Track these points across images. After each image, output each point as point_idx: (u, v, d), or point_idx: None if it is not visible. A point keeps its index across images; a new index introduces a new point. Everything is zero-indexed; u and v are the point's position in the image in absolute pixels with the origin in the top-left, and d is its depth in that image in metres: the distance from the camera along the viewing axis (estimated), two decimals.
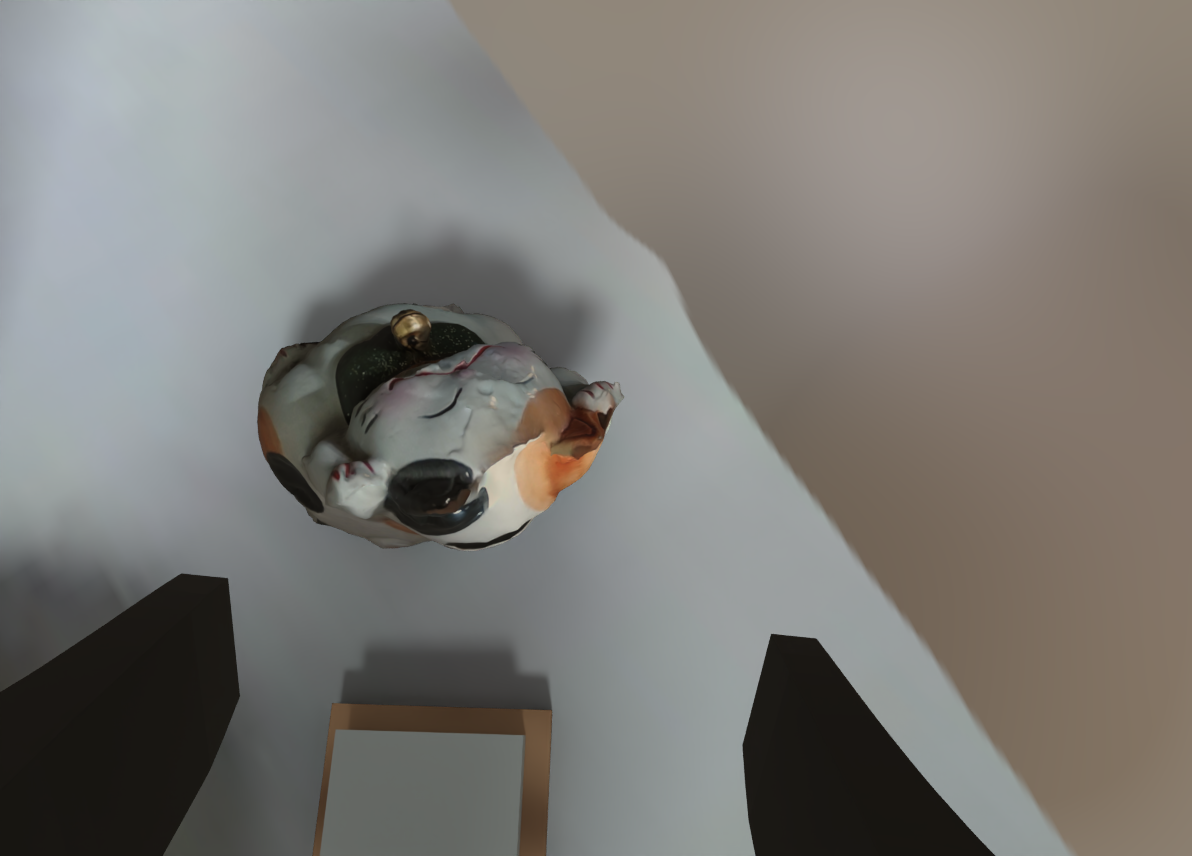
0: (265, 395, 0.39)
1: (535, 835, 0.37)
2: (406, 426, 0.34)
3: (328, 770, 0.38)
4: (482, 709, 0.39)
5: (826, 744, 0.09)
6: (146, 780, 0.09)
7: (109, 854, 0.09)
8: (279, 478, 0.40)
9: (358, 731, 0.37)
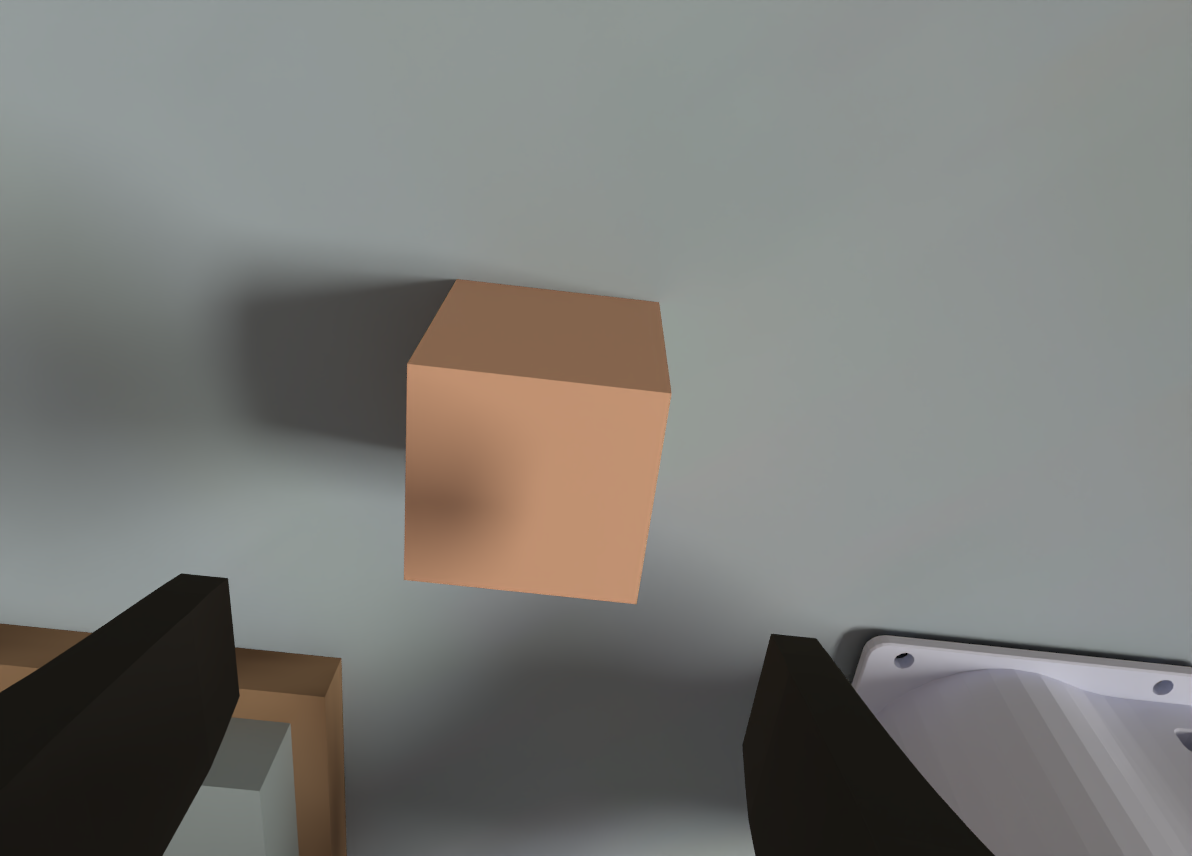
0: None
1: None
2: None
3: None
4: None
5: (826, 744, 0.09)
6: (146, 780, 0.09)
7: (109, 854, 0.09)
8: None
9: None
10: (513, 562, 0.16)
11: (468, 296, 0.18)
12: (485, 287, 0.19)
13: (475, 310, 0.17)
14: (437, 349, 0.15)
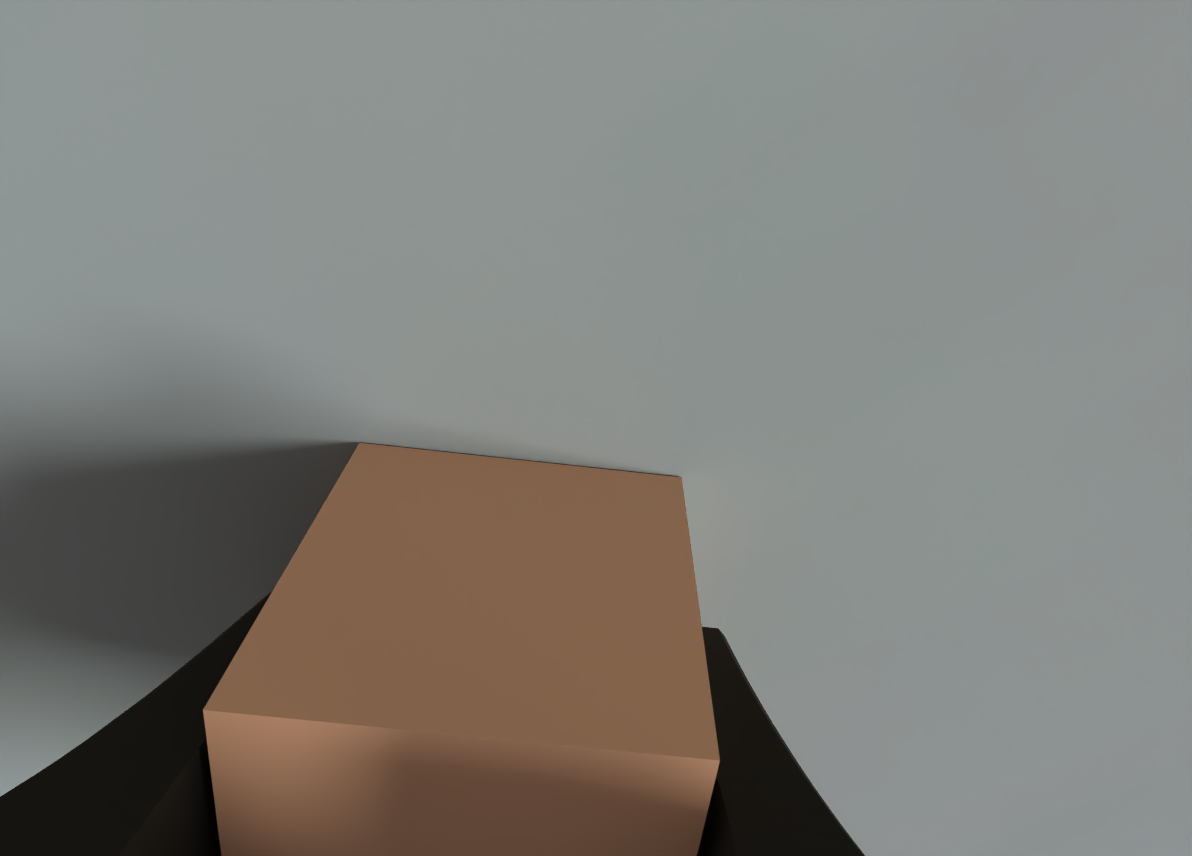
0: None
1: None
2: None
3: None
4: None
5: None
6: None
7: None
8: None
9: None
10: None
11: (368, 487, 0.11)
12: (401, 462, 0.12)
13: (374, 525, 0.10)
14: (278, 652, 0.08)
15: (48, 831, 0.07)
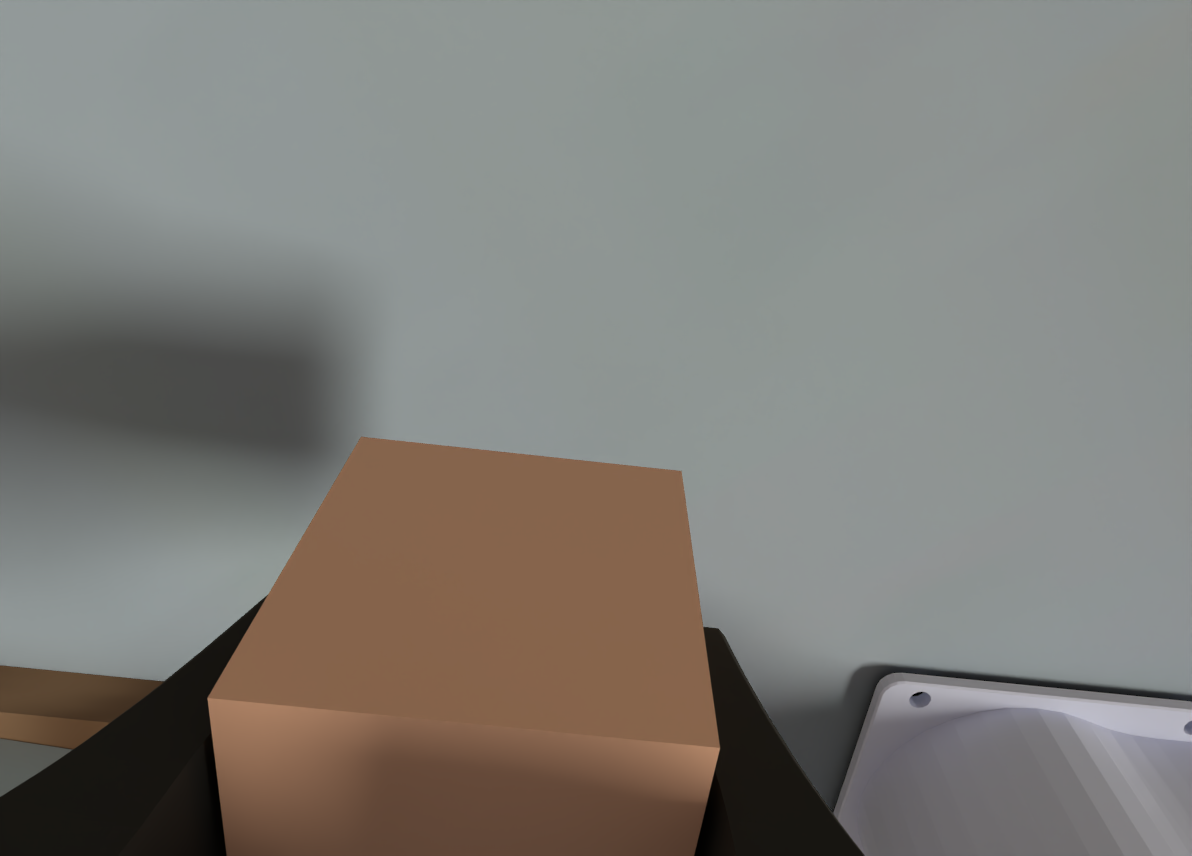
0: None
1: None
2: None
3: None
4: None
5: None
6: None
7: None
8: None
9: None
10: None
11: (370, 480, 0.11)
12: (403, 456, 0.12)
13: (376, 517, 0.10)
14: (281, 642, 0.08)
15: (48, 831, 0.07)
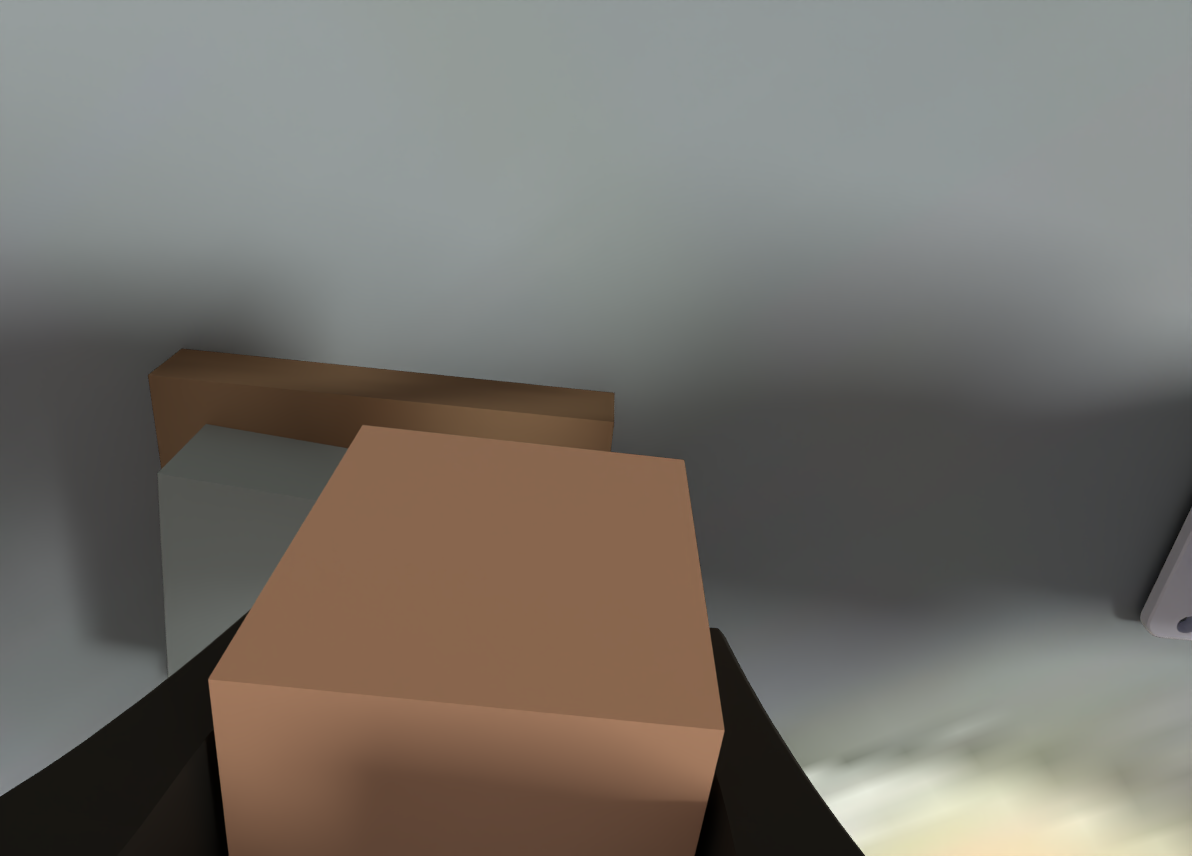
0: None
1: (392, 419, 0.19)
2: None
3: None
4: None
5: None
6: None
7: None
8: None
9: None
10: None
11: (372, 468, 0.11)
12: (404, 444, 0.12)
13: (377, 504, 0.10)
14: (282, 624, 0.08)
15: (47, 831, 0.07)
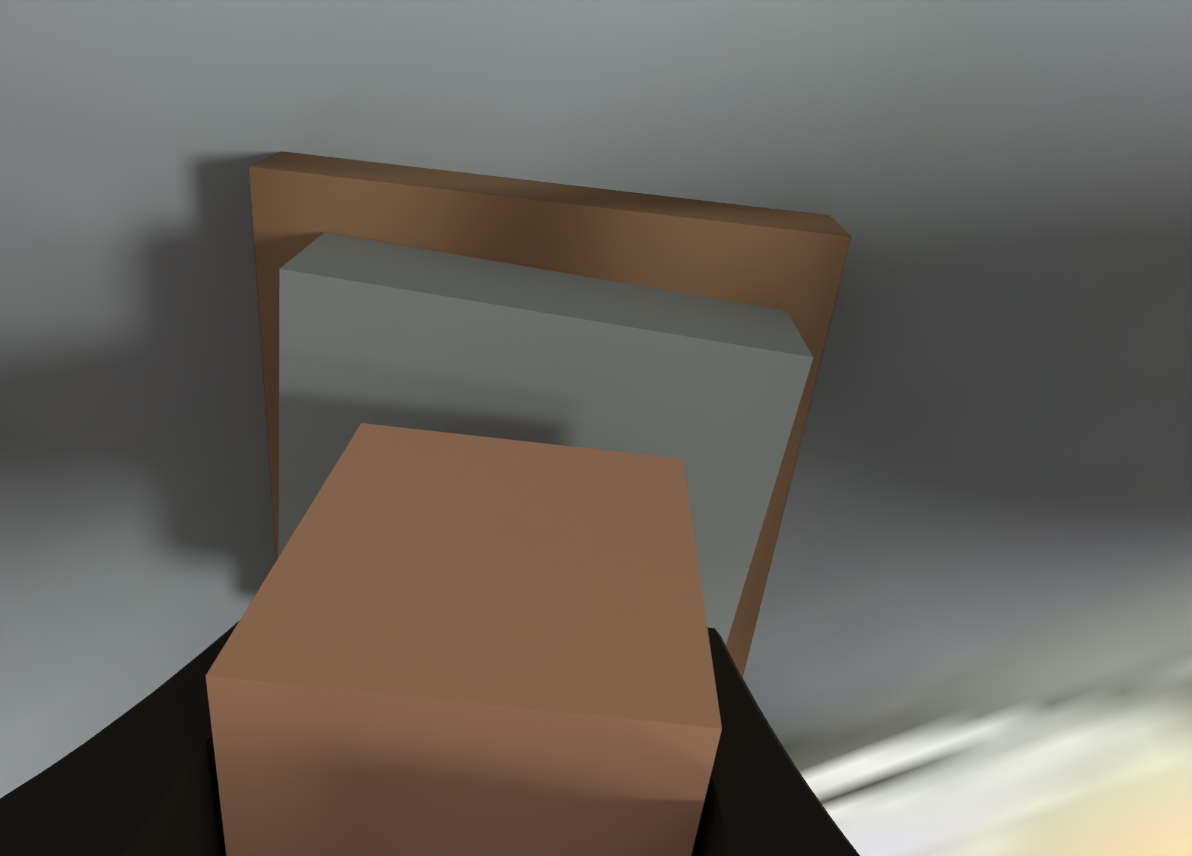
0: None
1: (563, 231, 0.14)
2: None
3: None
4: (264, 346, 0.15)
5: None
6: None
7: None
8: None
9: None
10: None
11: (371, 465, 0.11)
12: (404, 442, 0.12)
13: (376, 501, 0.10)
14: (280, 621, 0.08)
15: (51, 831, 0.07)
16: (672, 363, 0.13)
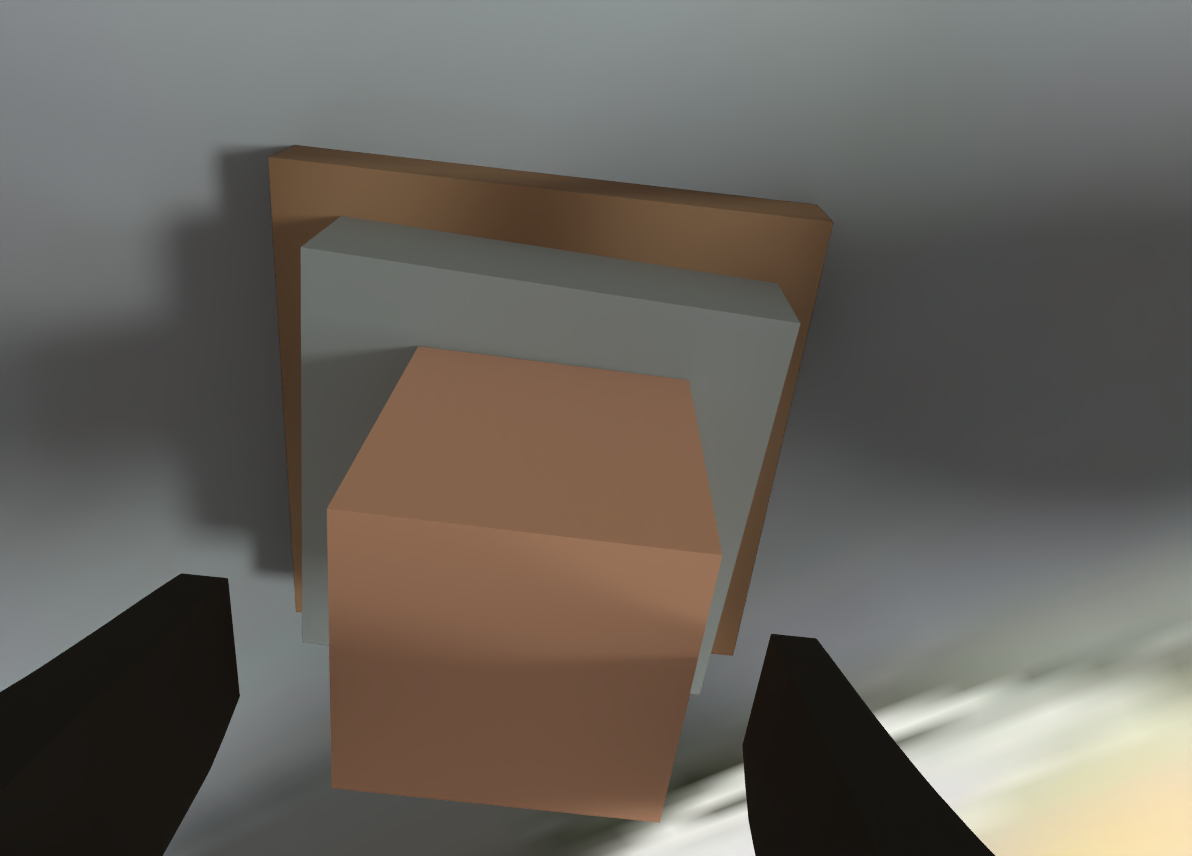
0: None
1: (563, 217, 0.15)
2: None
3: None
4: (281, 328, 0.16)
5: (826, 744, 0.09)
6: (146, 780, 0.09)
7: (109, 854, 0.09)
8: None
9: (304, 603, 0.17)
10: (486, 769, 0.11)
11: (430, 376, 0.13)
12: (455, 361, 0.14)
13: (438, 401, 0.12)
14: (377, 477, 0.10)
15: None
16: (668, 330, 0.14)
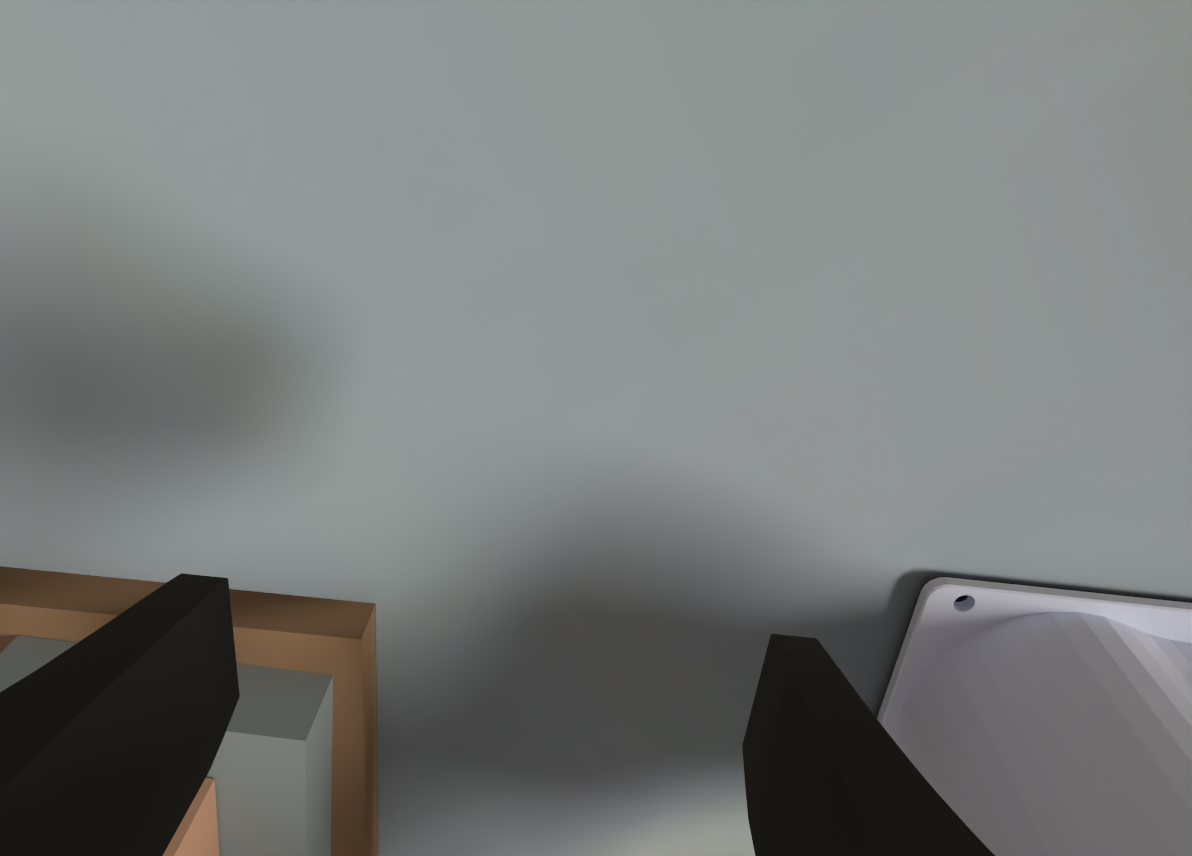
0: None
1: None
2: None
3: None
4: None
5: (826, 744, 0.09)
6: (146, 780, 0.09)
7: (109, 854, 0.09)
8: None
9: None
10: None
11: None
12: None
13: None
14: None
15: None
16: None
